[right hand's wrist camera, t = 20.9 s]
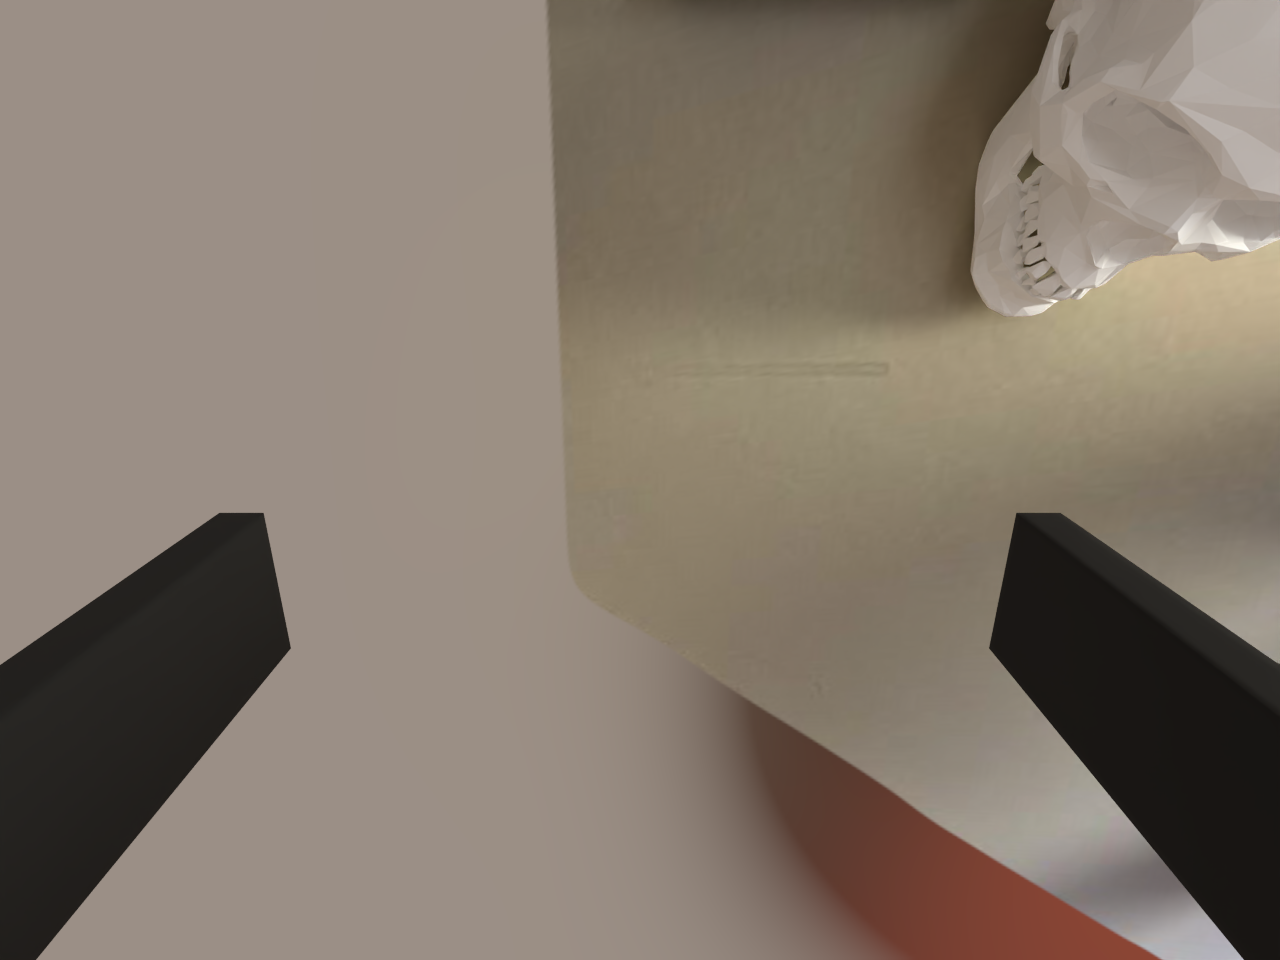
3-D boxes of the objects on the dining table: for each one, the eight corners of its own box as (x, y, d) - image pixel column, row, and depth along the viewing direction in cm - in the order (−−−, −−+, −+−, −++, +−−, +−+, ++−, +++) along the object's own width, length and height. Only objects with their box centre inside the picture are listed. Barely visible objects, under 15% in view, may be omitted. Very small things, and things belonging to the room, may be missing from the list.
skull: (883, 269, 38) (1054, 306, 23) (1122, -214, 31) (1589, -607, 16) (1087, 358, 40) (1363, 444, 25) (1354, -75, 33) (1954, -308, 18)
